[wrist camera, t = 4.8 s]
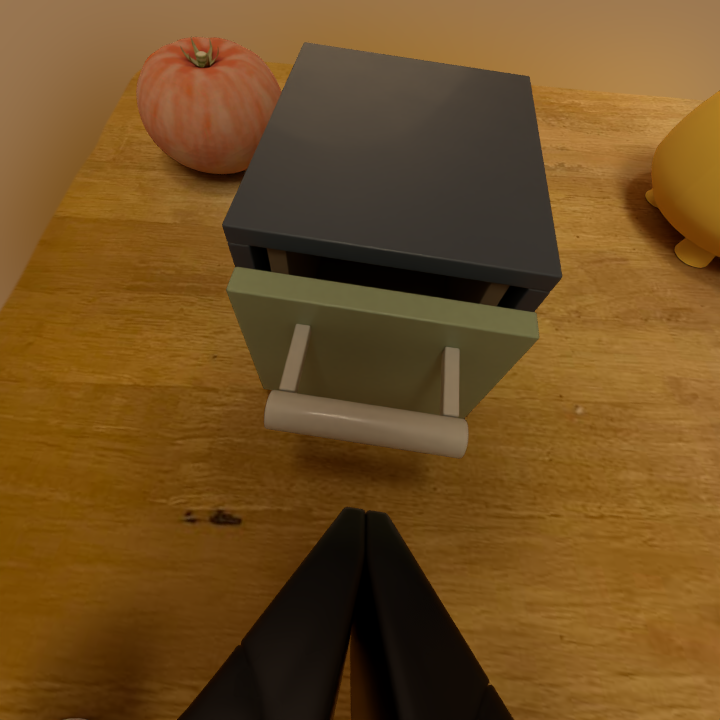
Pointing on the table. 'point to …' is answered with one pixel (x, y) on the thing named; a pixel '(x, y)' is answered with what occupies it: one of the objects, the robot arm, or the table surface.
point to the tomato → (207, 102)
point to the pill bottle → (75, 719)
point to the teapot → (691, 182)
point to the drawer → (375, 349)
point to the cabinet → (402, 173)
